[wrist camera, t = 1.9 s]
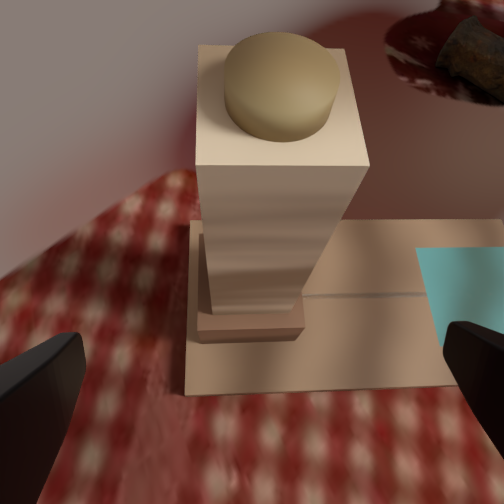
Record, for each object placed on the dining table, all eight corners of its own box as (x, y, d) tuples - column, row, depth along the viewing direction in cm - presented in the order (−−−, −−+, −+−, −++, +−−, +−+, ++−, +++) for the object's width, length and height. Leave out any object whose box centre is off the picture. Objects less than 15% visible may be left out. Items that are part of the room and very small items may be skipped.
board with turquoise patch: (186, 396, 20) (184, 395, 19) (191, 228, 24) (190, 220, 23) (546, 382, 21) (560, 380, 20) (491, 226, 25) (501, 219, 24)
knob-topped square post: (294, 341, 20) (429, 169, 7) (201, 344, 20) (150, 168, 7) (287, 256, 22) (378, -1, 9) (202, 257, 22) (165, -9, 9)
